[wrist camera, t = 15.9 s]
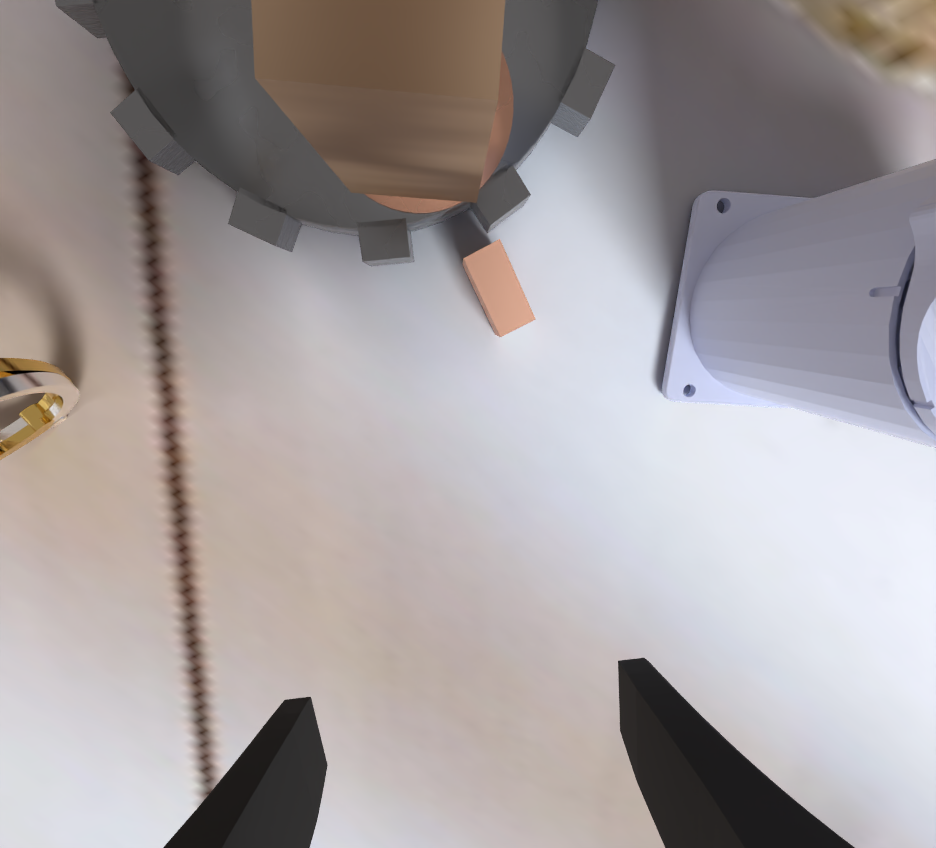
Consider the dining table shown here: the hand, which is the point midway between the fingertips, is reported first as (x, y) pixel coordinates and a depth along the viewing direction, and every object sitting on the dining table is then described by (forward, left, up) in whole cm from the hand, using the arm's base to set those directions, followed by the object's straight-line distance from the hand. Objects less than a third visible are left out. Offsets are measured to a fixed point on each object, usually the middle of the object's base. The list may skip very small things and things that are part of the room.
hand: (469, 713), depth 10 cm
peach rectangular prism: (-1, -10, -10) cm, 14 cm away
